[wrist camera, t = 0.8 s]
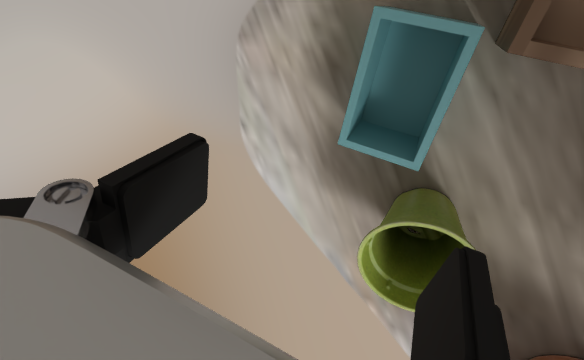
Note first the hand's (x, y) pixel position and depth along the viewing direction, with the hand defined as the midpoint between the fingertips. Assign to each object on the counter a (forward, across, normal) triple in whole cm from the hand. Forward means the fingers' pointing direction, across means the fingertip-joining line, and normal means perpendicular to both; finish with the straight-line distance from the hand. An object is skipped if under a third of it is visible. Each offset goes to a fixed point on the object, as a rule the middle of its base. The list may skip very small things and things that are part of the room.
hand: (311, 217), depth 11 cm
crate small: (+20, -1, -1) cm, 20 cm away
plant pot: (+20, -8, +10) cm, 24 cm away
